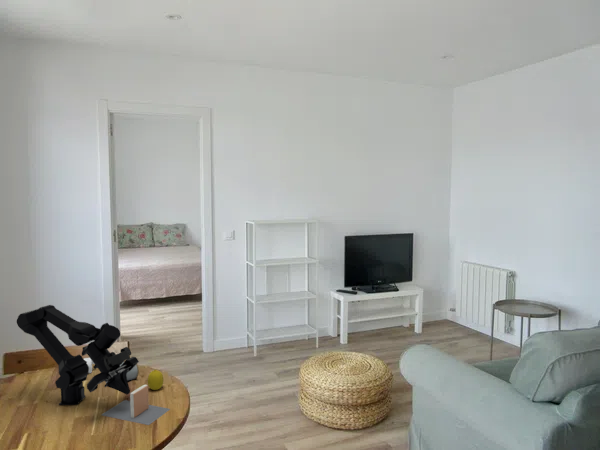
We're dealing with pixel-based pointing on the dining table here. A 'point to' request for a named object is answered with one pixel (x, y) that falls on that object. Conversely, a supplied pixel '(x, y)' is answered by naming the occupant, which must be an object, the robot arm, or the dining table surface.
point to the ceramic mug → (132, 373)
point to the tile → (139, 401)
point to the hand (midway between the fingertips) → (128, 393)
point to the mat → (145, 417)
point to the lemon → (155, 380)
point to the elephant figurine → (89, 363)
